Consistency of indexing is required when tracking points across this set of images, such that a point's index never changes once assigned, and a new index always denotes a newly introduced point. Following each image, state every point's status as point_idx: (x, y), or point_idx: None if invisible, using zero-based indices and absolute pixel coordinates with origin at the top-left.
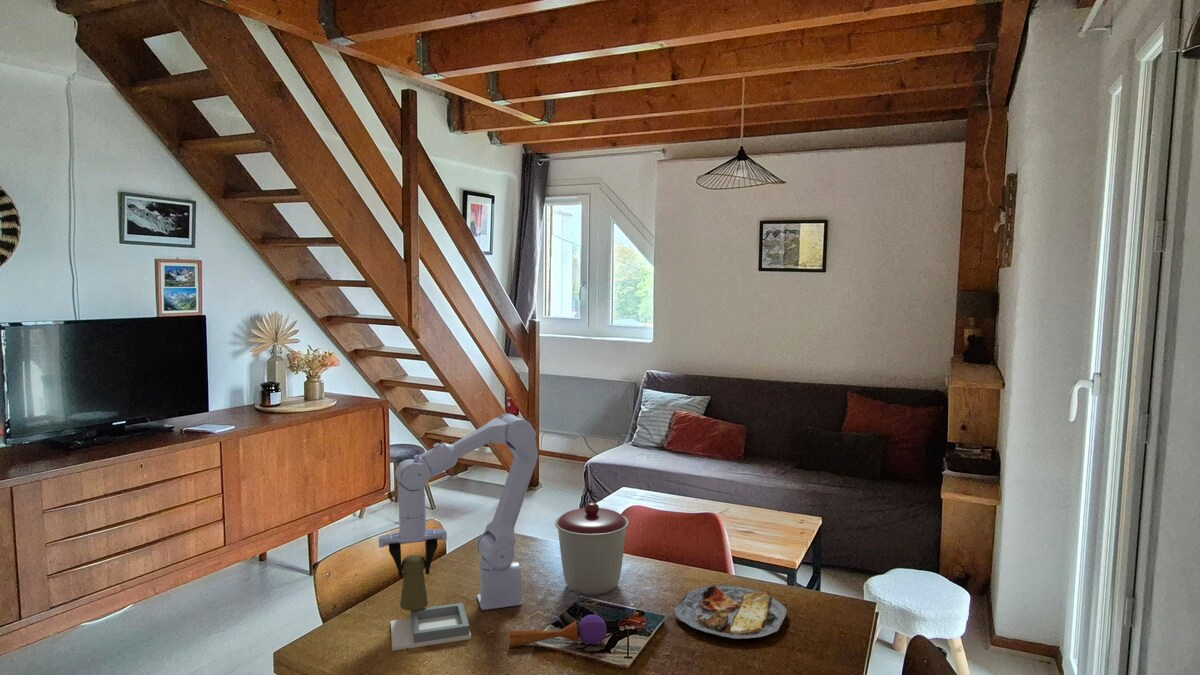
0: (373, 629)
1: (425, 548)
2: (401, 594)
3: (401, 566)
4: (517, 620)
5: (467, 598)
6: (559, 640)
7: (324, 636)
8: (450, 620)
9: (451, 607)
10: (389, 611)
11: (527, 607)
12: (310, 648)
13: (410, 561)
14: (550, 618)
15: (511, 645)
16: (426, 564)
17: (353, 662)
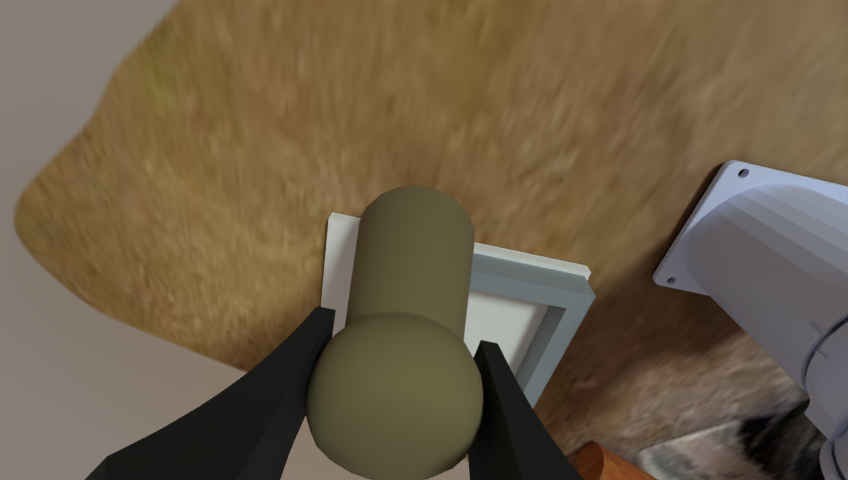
0: (272, 216)
1: (517, 476)
2: (355, 250)
3: (301, 418)
4: (690, 371)
5: (681, 150)
6: (687, 472)
7: (105, 181)
8: (514, 311)
9: (542, 300)
10: (341, 97)
11: None
12: (81, 237)
13: (354, 472)
14: (769, 401)
15: (578, 465)
16: (468, 452)
17: (222, 353)
